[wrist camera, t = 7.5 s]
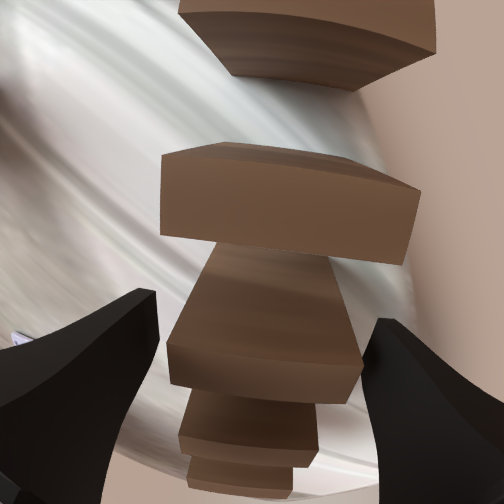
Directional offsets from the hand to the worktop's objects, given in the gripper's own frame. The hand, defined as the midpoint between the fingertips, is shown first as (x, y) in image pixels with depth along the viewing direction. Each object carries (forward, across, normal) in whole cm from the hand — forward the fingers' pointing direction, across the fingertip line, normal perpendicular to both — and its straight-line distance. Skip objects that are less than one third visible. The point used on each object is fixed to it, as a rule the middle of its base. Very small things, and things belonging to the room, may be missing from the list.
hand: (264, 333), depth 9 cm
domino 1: (+5, 0, -9) cm, 10 cm away
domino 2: (+5, 0, -4) cm, 7 cm away
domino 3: (+5, 0, 0) cm, 5 cm away
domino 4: (+5, 0, +4) cm, 7 cm away
